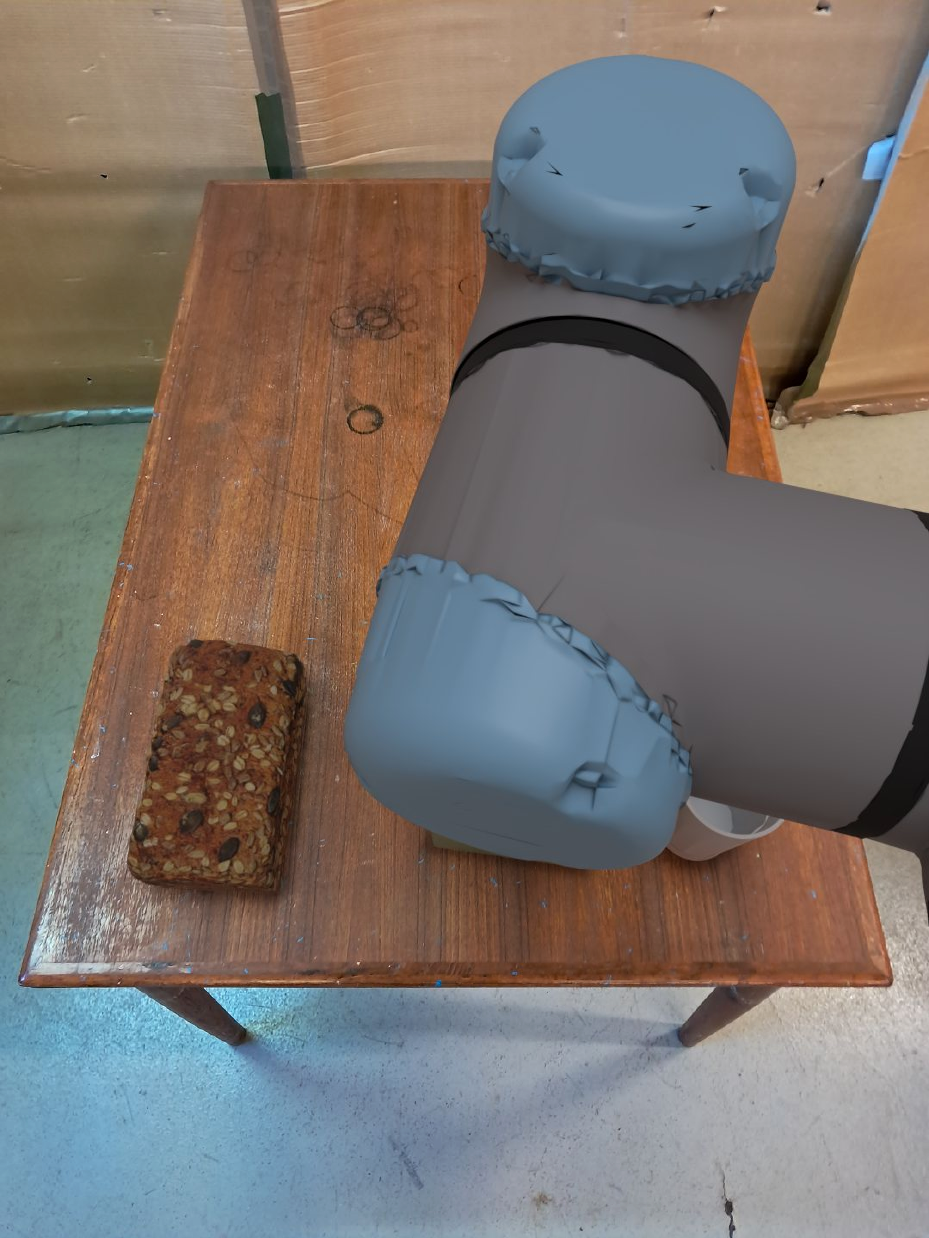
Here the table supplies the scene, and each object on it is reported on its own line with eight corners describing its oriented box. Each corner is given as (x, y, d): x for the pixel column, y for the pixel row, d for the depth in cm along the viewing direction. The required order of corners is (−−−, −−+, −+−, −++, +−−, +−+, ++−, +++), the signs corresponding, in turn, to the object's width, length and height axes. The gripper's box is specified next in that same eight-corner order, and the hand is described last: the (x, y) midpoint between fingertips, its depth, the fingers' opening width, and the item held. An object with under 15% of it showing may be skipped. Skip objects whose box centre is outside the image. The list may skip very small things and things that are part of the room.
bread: (201, 678, 74) (166, 628, 65) (319, 684, 73) (299, 635, 64) (153, 893, 65) (104, 870, 56) (286, 902, 65) (258, 880, 56)
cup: (741, 878, 66) (795, 847, 55) (641, 862, 66) (676, 828, 56) (741, 782, 69) (792, 736, 59) (647, 768, 70) (680, 719, 59)
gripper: (504, 335, 37) (489, 588, 58) (448, 689, 29) (454, 834, 50) (672, 352, 36) (595, 601, 57) (660, 716, 29) (577, 852, 49)
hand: (530, 709), depth 53 cm, fingers closed on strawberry, 4 cm apart
